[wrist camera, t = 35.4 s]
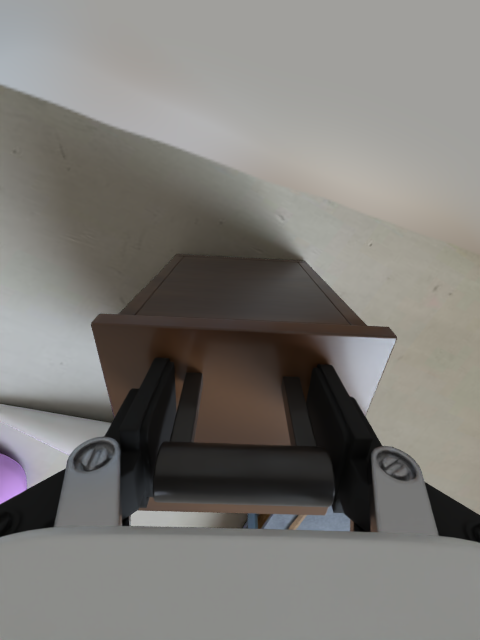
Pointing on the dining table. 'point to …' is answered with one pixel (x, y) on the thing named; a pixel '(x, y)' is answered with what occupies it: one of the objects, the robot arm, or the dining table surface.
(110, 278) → the dining table surface
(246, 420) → the lid
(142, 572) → the robot arm
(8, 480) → the teapot
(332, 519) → the book
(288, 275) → the chest
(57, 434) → the long cone
